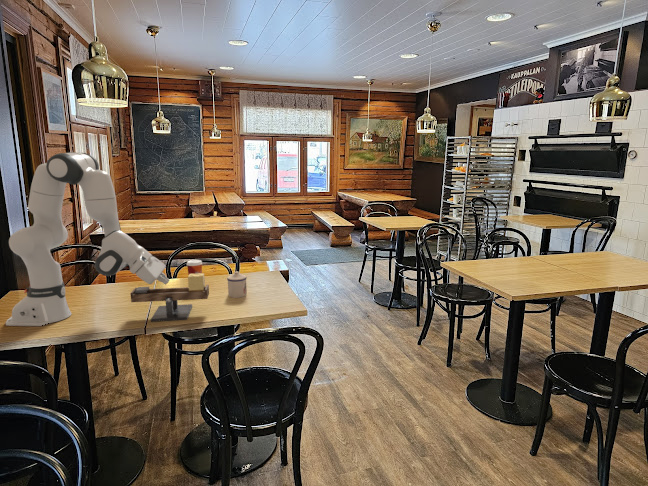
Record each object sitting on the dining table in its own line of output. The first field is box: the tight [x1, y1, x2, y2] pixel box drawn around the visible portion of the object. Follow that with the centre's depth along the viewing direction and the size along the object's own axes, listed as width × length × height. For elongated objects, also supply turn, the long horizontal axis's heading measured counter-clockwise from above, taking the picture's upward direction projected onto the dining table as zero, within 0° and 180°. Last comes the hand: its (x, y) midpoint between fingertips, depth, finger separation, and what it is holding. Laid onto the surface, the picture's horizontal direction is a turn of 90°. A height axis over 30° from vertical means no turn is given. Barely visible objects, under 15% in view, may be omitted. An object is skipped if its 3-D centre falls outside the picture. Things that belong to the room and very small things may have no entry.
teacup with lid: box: [226, 270, 248, 299], centre depth 202 cm, size 12×9×12 cm
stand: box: [150, 297, 193, 323], centre depth 177 cm, size 14×15×9 cm
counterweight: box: [135, 286, 151, 294], centre depth 174 cm, size 4×4×3 cm
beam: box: [130, 284, 210, 303], centre depth 176 cm, size 30×7×5 cm, turn 99°
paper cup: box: [186, 259, 203, 276], centre depth 211 cm, size 8×8×14 cm
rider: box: [187, 272, 206, 292], centre depth 177 cm, size 6×4×8 cm
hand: (167, 282), depth 175 cm, fingers closed
